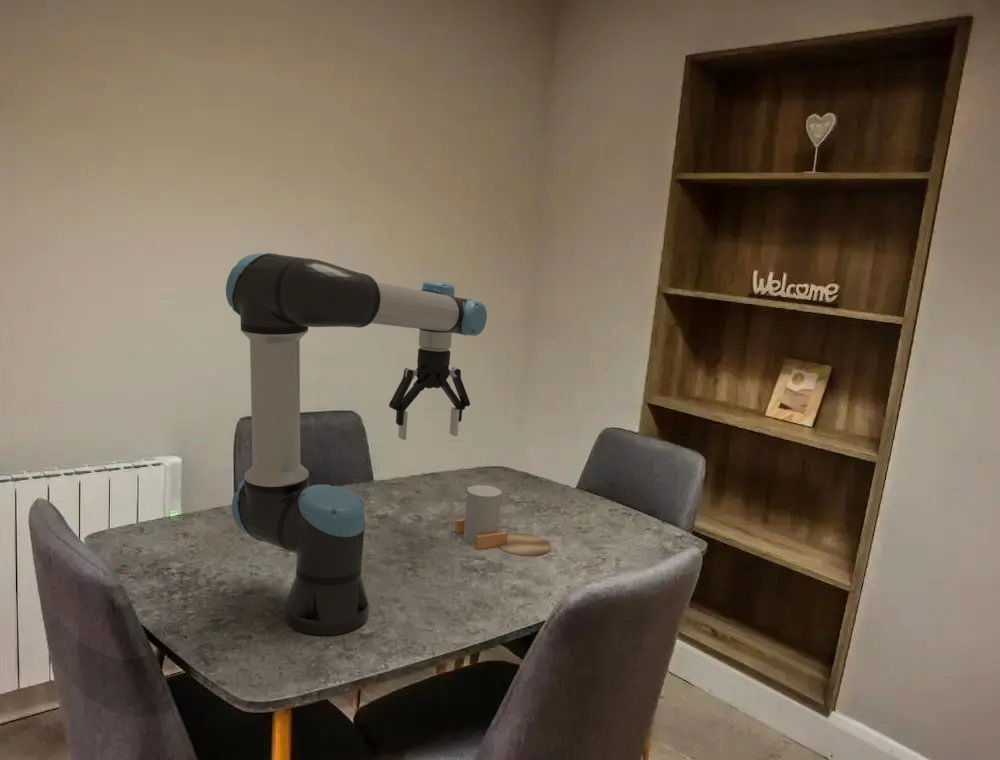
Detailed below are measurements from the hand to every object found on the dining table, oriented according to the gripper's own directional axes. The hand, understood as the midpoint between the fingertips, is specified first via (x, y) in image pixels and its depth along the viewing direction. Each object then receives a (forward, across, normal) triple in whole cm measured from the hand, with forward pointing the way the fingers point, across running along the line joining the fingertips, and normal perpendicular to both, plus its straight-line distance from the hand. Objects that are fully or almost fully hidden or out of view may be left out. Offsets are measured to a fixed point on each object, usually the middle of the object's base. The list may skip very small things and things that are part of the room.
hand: (428, 436), depth 185 cm
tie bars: (+23, -11, +10) cm, 28 cm away
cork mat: (+23, -19, +17) cm, 34 cm away
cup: (+24, -11, +10) cm, 28 cm away
